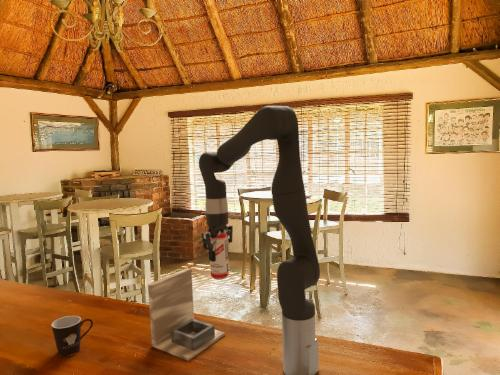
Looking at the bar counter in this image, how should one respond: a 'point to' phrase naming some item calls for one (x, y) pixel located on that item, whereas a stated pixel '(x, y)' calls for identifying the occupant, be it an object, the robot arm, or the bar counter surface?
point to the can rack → (178, 317)
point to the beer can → (220, 258)
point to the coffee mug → (68, 334)
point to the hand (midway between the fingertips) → (219, 258)
